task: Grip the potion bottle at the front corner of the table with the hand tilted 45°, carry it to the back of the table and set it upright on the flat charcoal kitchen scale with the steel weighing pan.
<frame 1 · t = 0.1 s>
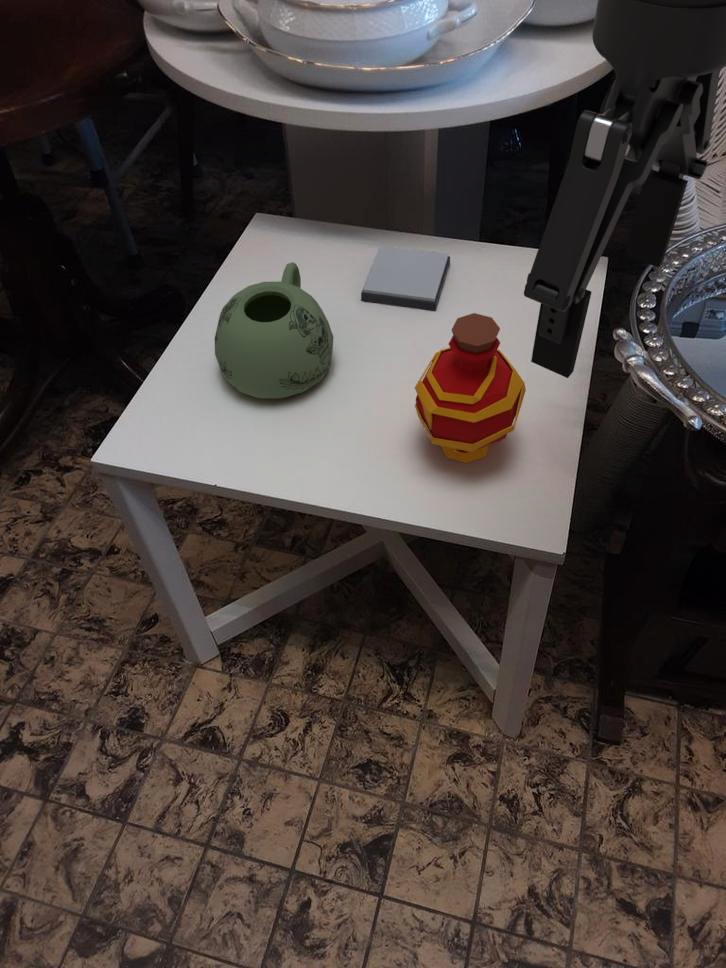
hand: (600, 310, 54), 24 cm above the table, tool pointing down, fingers open, 13 cm apart
scale: (406, 281, 94), on the table
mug: (282, 357, 87), on the table
potion bottle: (464, 442, 78), on the table
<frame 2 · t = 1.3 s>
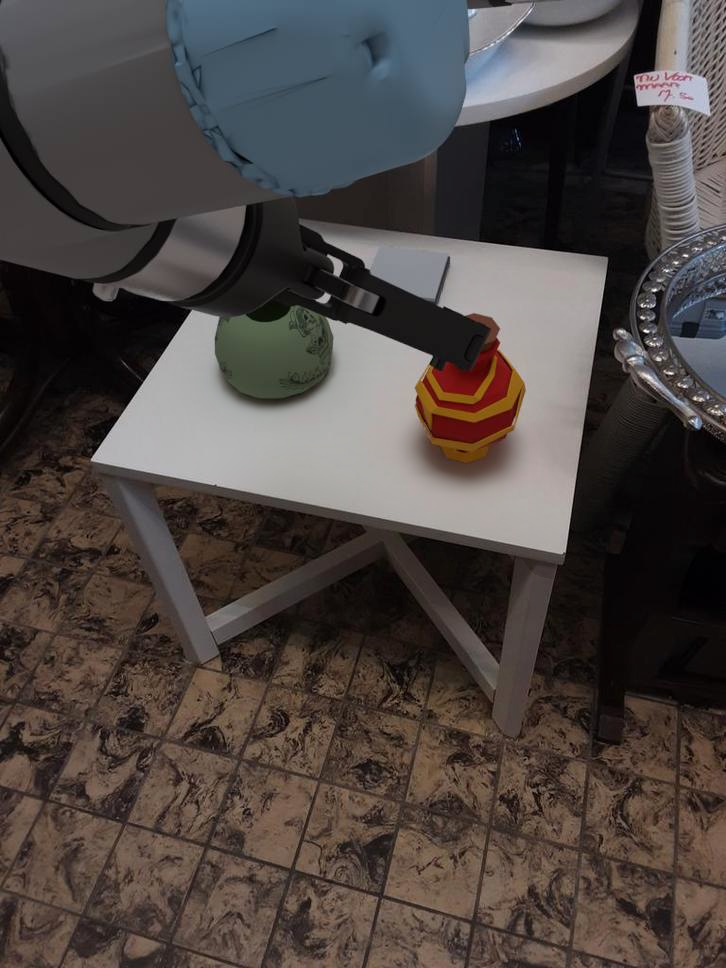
hand: (393, 305, 53), 25 cm above the table, tool tilted 45°, fingers open, 13 cm apart
nothing on the table moved.
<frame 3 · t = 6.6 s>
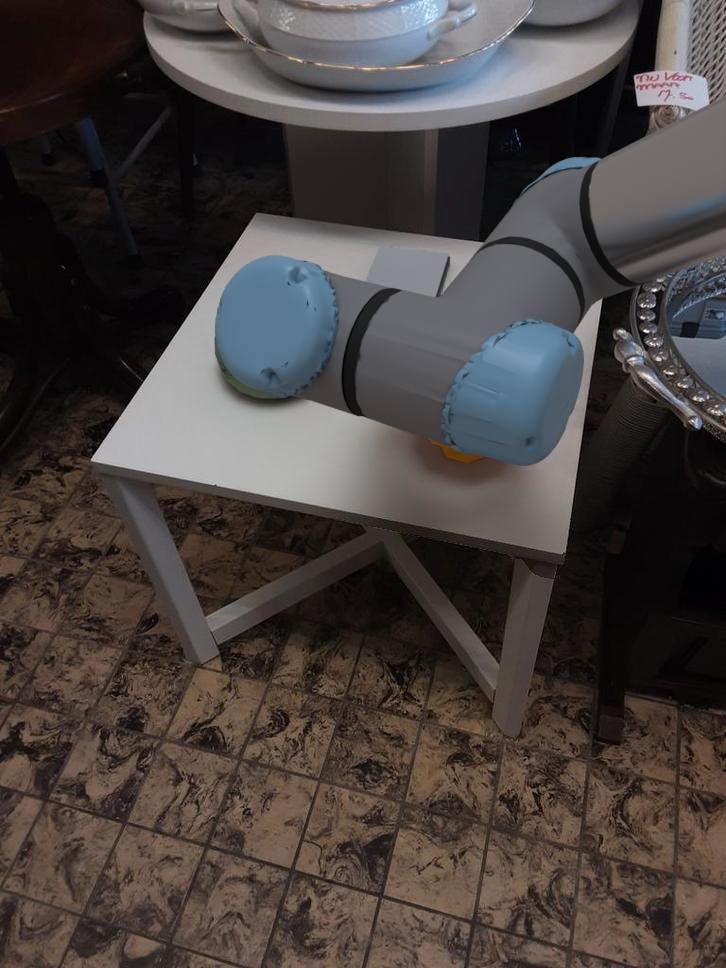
hand: (486, 382, 75), 6 cm above the table, tool tilted 45°, fingers closed on potion bottle, 10 cm apart
potion bottle: (464, 442, 78), on the table, touching gripper
everything else where it was.
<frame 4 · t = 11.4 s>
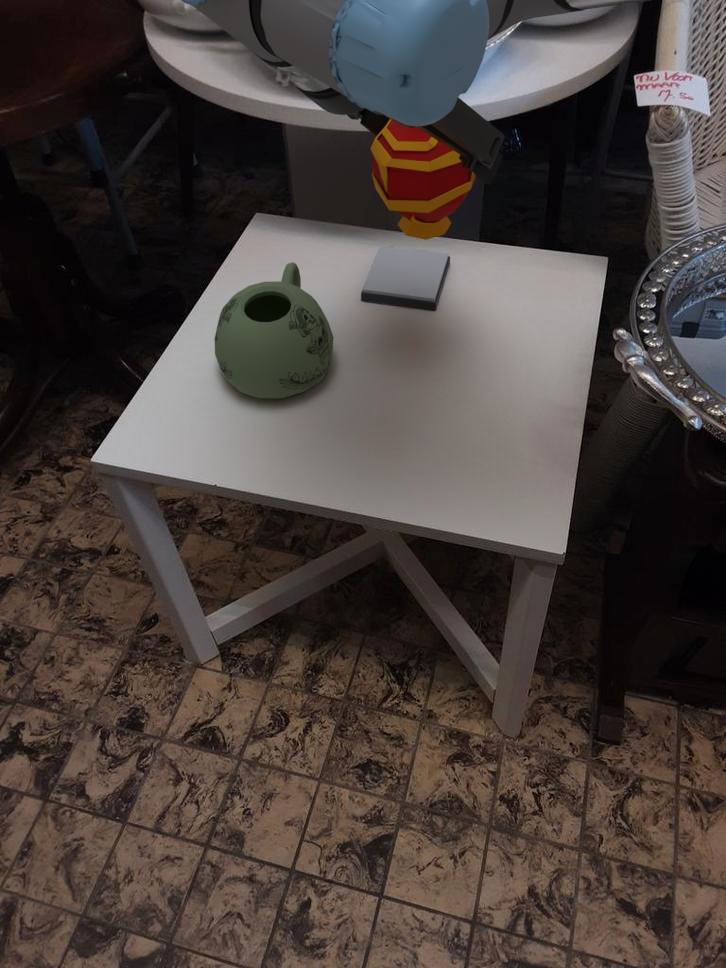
hand: (444, 152, 74), 20 cm above the table, tool tilted 45°, fingers closed on potion bottle, 10 cm apart
potion bottle: (424, 224, 77), point 14 cm above the table, touching gripper
everything else where it was.
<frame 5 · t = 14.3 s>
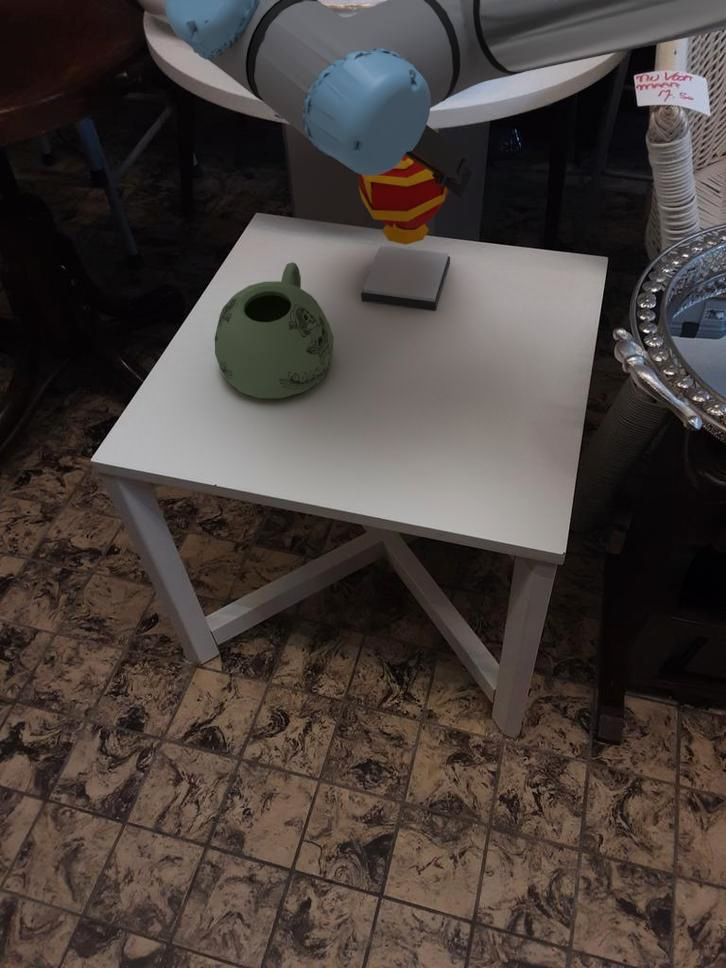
hand: (422, 168, 84), 13 cm above the table, tool tilted 45°, fingers closed on potion bottle, 10 cm apart
potion bottle: (405, 231, 88), point 7 cm above the table, touching gripper
everything else where it was.
when the fingers open (8 cm above the table, at t = 16.4 s): potion bottle stays where it is, resting on scale.
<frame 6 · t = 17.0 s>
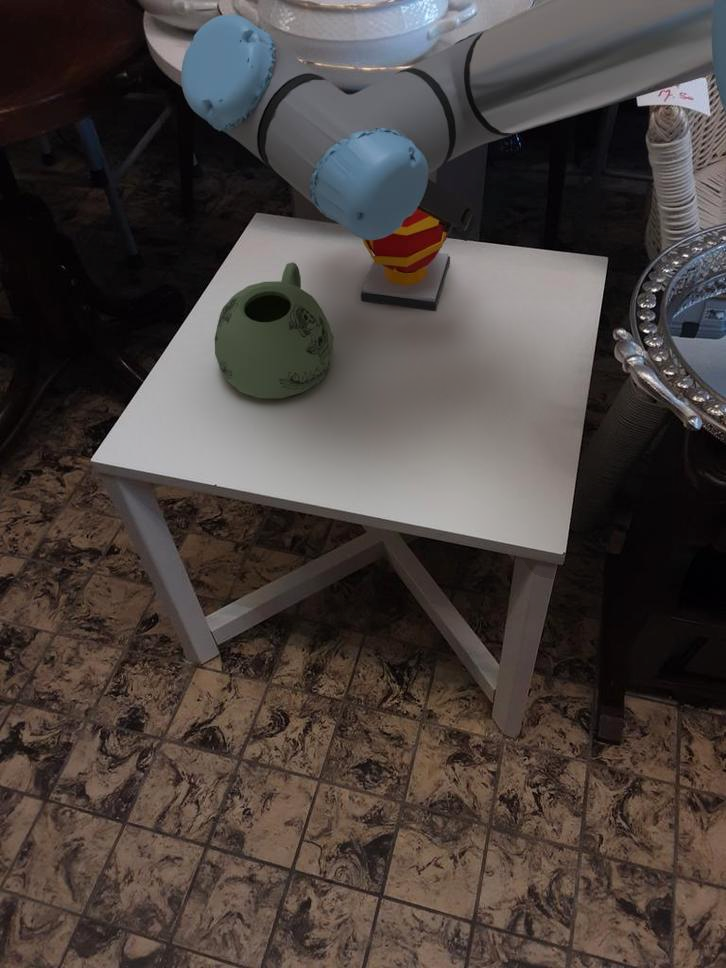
hand: (418, 208, 88), 9 cm above the table, tool tilted 45°, fingers open, 13 cm apart
potion bottle: (405, 272, 92), point 1 cm above the table, touching scale
everything else where it was.
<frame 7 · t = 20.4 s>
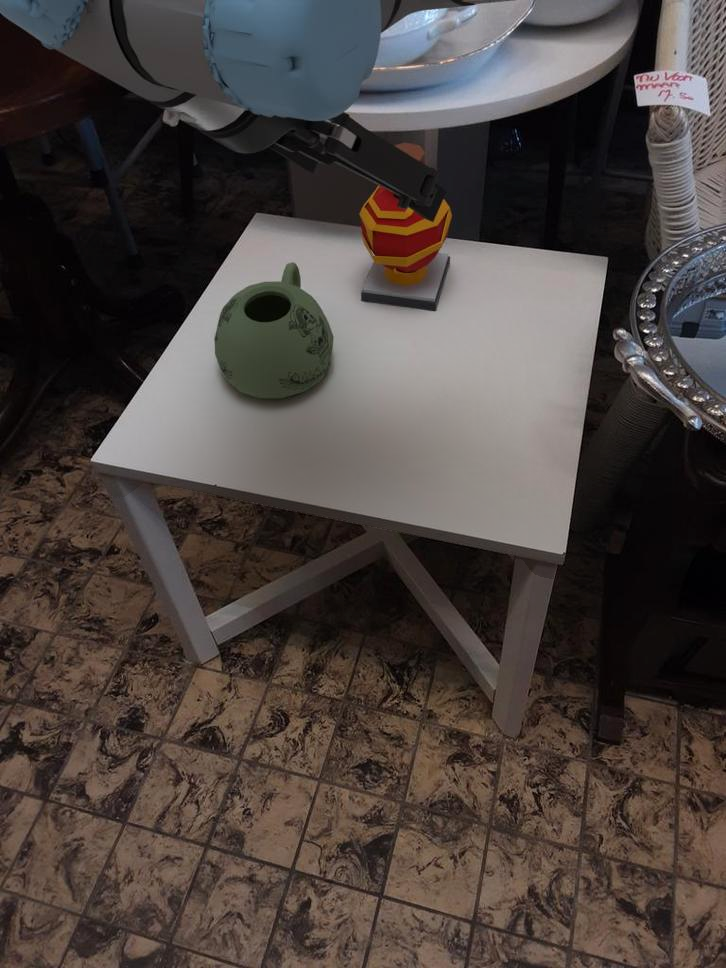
hand: (373, 181, 69), 21 cm above the table, tool tilted 45°, fingers open, 13 cm apart
nothing on the table moved.
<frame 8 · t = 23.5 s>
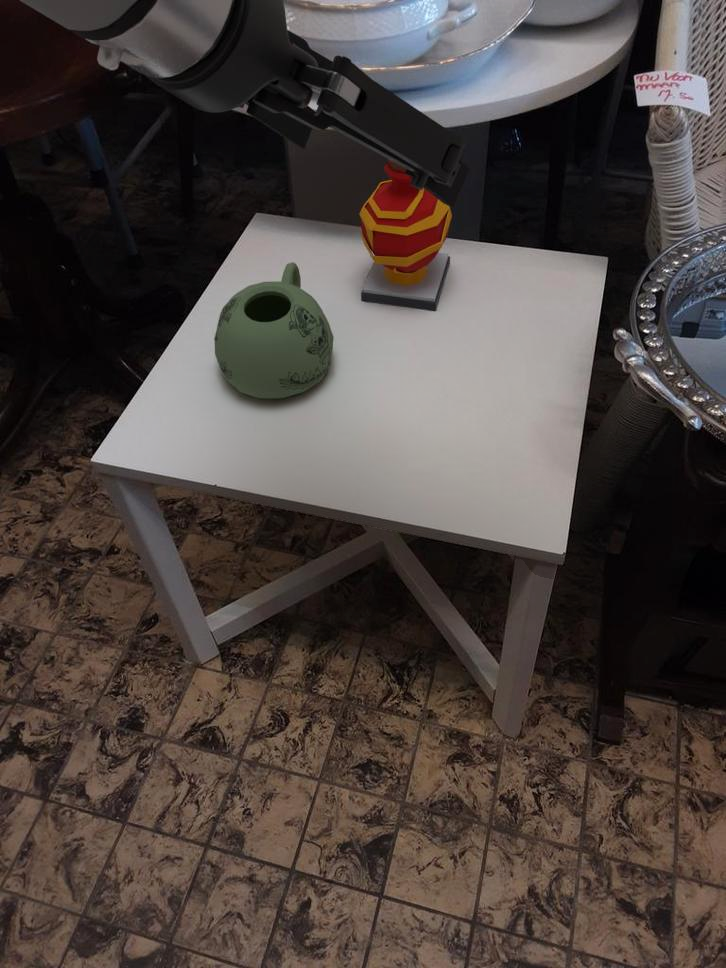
hand: (378, 157, 56), 30 cm above the table, tool tilted 45°, fingers open, 13 cm apart
nothing on the table moved.
at the end: potion bottle 0.1 cm off-centre on the scale, point 1.4 cm above the scale's base; potion bottle tilted 0°; the gripper is holding nothing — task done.
